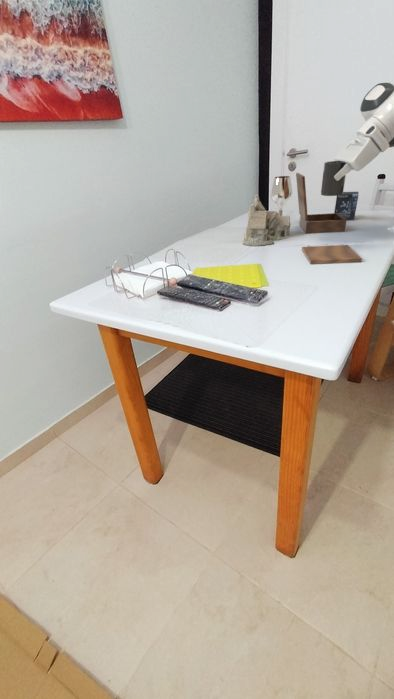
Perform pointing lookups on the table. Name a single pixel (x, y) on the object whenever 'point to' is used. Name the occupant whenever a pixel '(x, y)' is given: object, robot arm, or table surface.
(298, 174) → the bread box lid
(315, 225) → the bread box
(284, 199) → the wineglass
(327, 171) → the dark grey cup
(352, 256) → the board
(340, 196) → the box
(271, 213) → the ceramic cottage
